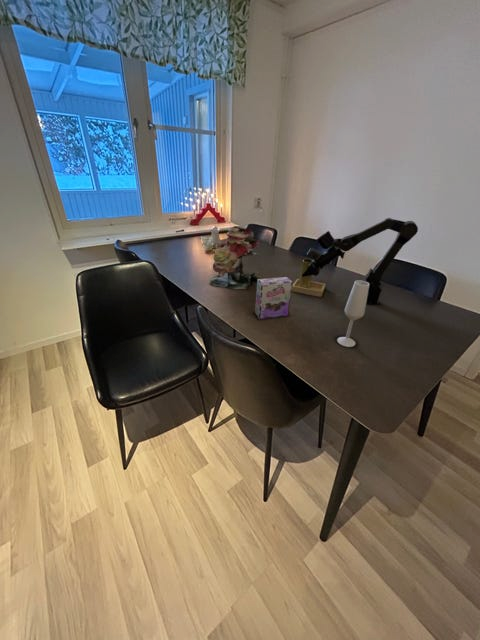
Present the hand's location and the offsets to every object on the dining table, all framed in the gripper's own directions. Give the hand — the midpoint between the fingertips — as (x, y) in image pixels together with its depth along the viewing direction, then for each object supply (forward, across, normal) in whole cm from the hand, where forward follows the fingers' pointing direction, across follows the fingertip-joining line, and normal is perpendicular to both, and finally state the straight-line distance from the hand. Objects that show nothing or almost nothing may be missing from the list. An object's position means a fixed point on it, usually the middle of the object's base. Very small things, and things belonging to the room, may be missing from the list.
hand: (303, 274), depth 143 cm
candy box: (+10, +35, +2) cm, 36 cm away
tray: (+3, 0, +8) cm, 9 cm away
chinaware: (+63, -49, -53) cm, 96 cm away
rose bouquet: (+32, +8, -21) cm, 39 cm away
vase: (+4, 0, +6) cm, 7 cm away
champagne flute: (-13, +43, +25) cm, 51 cm away
